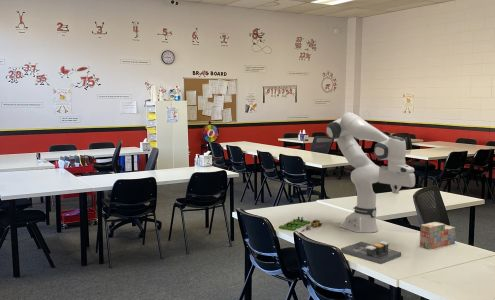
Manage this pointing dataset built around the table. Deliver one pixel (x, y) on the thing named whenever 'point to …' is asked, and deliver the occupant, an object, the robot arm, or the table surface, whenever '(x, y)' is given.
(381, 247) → the breaker
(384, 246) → the breaker far
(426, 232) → the stack of blocks
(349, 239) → the table surface
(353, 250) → the panel
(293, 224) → the toy garden set
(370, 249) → the breaker near
